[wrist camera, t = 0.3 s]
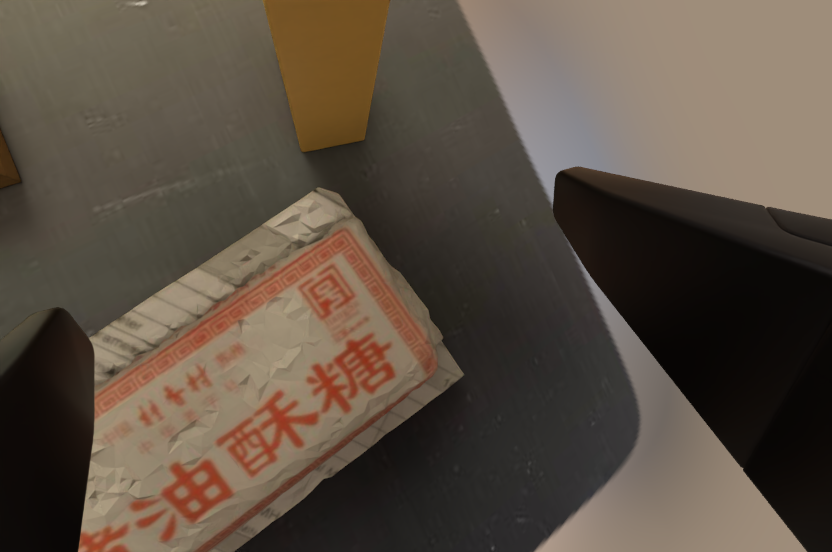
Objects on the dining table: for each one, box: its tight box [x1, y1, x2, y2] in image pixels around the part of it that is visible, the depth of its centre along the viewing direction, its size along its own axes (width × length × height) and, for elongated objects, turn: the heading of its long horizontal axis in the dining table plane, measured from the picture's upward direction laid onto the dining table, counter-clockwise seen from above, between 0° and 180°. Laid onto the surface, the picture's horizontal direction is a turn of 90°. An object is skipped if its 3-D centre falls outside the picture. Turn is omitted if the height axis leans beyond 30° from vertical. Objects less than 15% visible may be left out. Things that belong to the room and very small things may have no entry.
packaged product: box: [78, 187, 464, 552], centre depth 18 cm, size 18×5×10 cm
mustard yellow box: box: [263, 0, 390, 152], centre depth 15 cm, size 5×3×13 cm, turn 14°
